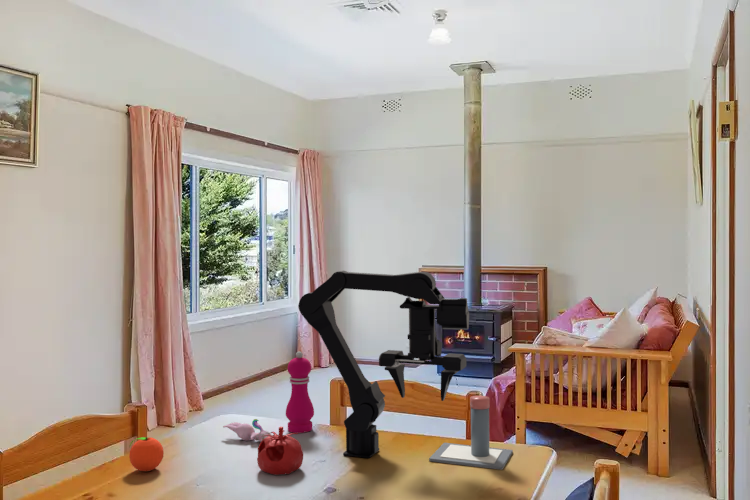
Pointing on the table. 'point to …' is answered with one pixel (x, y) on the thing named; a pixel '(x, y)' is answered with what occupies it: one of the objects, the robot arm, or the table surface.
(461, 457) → the writing board
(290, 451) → the red round fruit
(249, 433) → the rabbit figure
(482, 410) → the cylinder
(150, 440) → the clementine
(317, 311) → the robot arm
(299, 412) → the pepper mill
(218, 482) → the table surface
